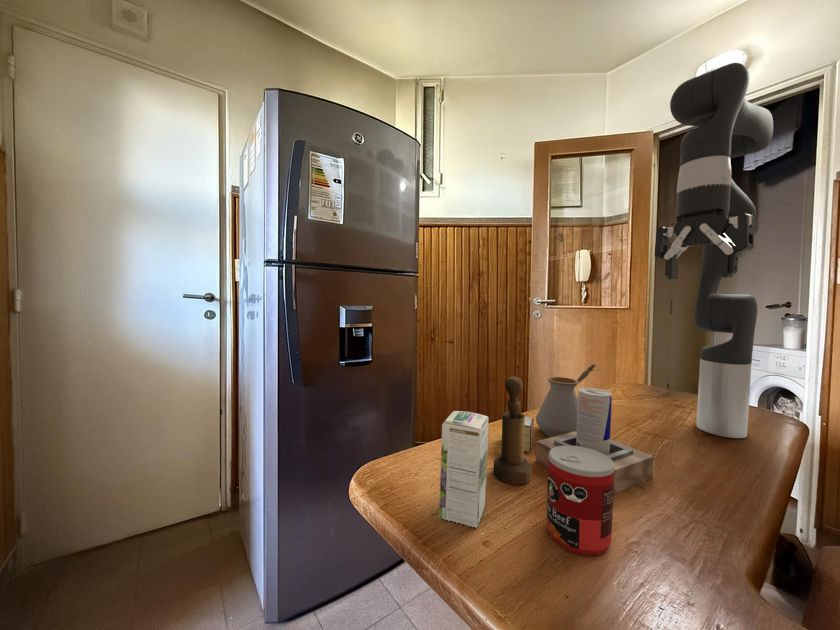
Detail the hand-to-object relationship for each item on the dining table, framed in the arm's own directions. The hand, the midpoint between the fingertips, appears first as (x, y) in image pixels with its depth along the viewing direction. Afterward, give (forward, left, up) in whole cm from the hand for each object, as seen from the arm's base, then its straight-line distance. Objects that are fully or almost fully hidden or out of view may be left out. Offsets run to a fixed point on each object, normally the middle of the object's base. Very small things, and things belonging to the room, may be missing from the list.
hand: (698, 278), depth 63 cm
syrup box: (+46, -8, -36) cm, 59 cm away
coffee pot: (+4, -23, -36) cm, 43 cm away
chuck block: (+17, -8, -36) cm, 40 cm away
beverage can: (+17, -8, -36) cm, 41 cm away
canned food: (+35, +3, -36) cm, 50 cm away
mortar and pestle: (+32, -13, -36) cm, 50 cm away
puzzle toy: (+22, -22, -36) cm, 48 cm away
